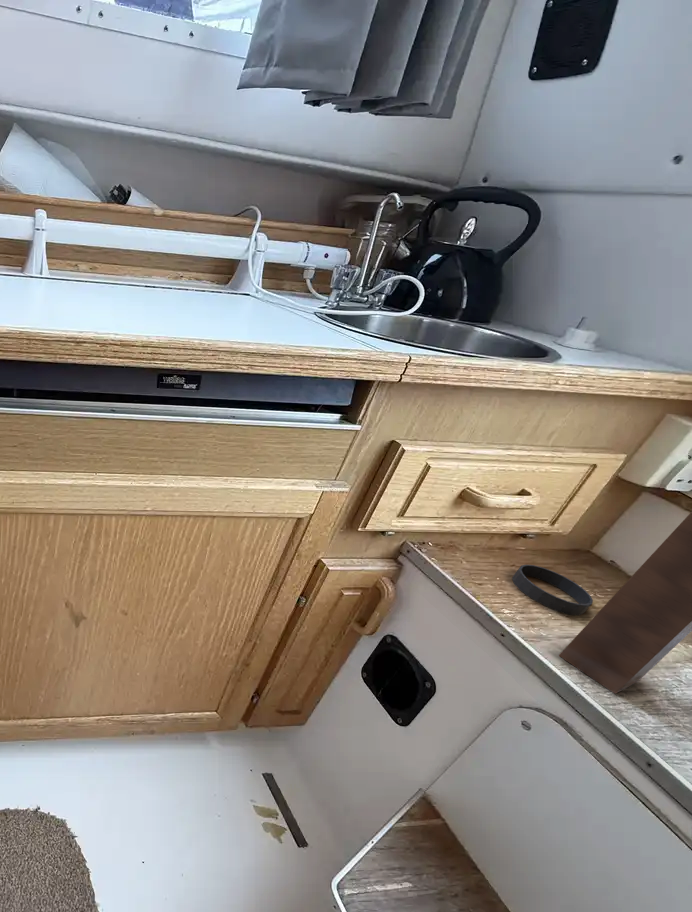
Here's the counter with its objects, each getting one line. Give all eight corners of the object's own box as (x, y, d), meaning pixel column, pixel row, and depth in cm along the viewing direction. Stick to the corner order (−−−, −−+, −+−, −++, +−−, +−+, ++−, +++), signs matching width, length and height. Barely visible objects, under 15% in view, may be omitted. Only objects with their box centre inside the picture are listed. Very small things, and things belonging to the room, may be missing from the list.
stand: (636, 682, 71) (863, 469, 55) (614, 694, 69) (846, 474, 53) (580, 645, 76) (774, 440, 60) (558, 655, 73) (754, 443, 57)
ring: (575, 592, 89) (583, 582, 88) (591, 624, 81) (600, 614, 80) (508, 566, 92) (515, 557, 91) (517, 595, 85) (525, 585, 84)
